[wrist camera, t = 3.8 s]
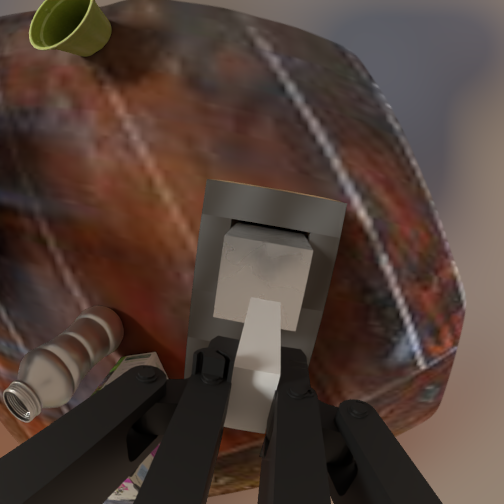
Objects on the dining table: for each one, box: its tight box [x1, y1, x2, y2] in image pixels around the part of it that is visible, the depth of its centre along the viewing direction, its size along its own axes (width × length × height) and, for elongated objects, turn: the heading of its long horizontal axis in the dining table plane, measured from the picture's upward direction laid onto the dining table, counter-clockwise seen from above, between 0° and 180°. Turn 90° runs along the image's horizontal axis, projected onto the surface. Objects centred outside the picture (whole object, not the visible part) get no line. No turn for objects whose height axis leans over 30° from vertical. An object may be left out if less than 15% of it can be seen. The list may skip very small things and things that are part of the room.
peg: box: [213, 222, 313, 331], centre depth 26 cm, size 6×6×8 cm
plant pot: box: [29, 0, 112, 57], centre depth 27 cm, size 9×9×9 cm
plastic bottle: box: [3, 305, 124, 422], centre depth 30 cm, size 6×7×20 cm
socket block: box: [184, 179, 347, 379], centre depth 33 cm, size 12×25×8 cm, turn 171°
